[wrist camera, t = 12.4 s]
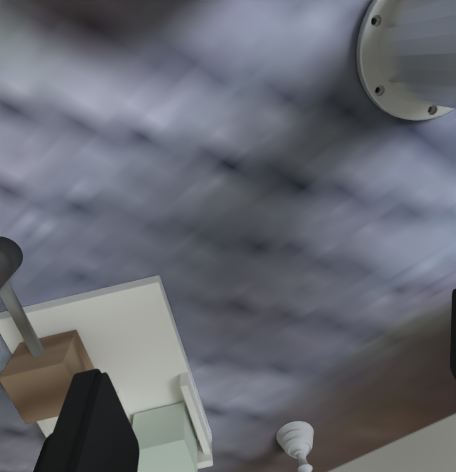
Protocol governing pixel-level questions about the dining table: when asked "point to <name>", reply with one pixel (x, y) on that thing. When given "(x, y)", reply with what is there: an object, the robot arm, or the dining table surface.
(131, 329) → the white joystick tray
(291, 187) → the dining table surface
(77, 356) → the joystick
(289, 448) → the chalice
